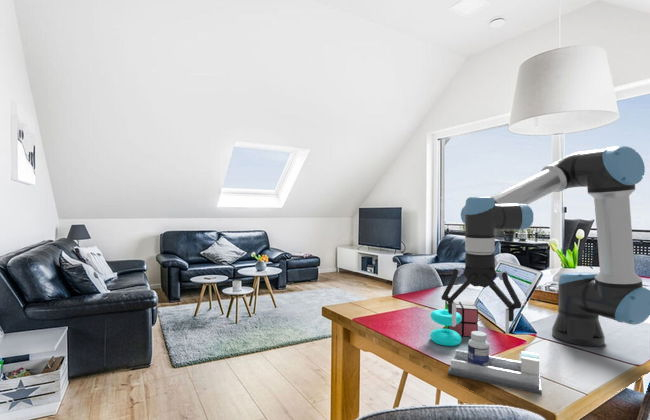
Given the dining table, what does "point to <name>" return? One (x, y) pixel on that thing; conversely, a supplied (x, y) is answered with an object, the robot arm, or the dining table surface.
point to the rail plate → (495, 372)
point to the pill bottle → (478, 348)
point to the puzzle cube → (465, 318)
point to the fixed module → (530, 363)
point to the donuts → (445, 335)
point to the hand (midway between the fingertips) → (479, 329)
